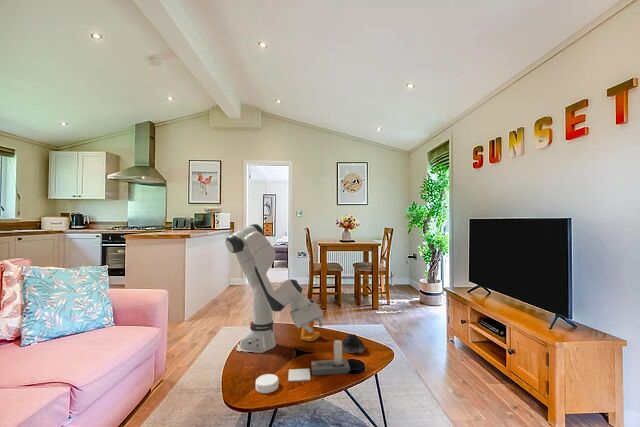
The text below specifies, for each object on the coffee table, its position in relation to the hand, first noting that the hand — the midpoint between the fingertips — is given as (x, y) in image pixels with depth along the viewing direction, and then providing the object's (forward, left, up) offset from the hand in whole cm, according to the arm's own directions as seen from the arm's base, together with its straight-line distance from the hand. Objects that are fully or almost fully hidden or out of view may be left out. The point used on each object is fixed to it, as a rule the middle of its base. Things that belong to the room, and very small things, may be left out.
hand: (316, 328), depth 149 cm
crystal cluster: (+21, +14, -18) cm, 31 cm away
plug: (+10, -7, -17) cm, 21 cm away
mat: (-9, -11, -17) cm, 23 cm away
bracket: (-2, +33, -17) cm, 37 cm away
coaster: (-23, -19, -18) cm, 35 cm away
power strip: (+6, -7, -17) cm, 20 cm away
